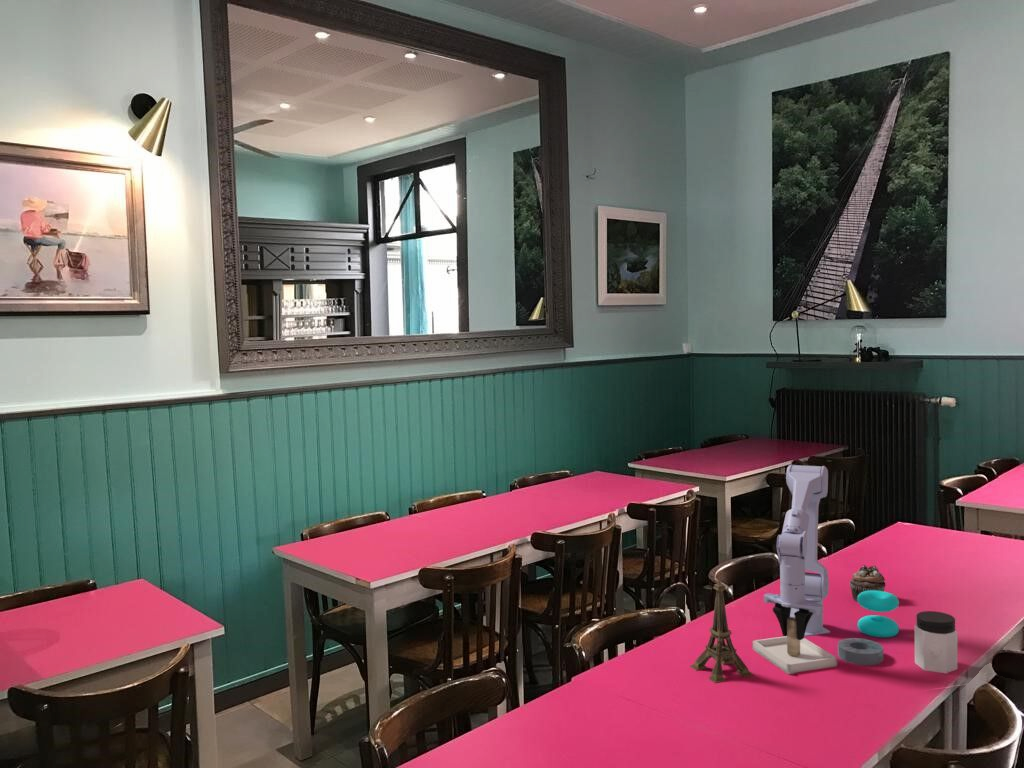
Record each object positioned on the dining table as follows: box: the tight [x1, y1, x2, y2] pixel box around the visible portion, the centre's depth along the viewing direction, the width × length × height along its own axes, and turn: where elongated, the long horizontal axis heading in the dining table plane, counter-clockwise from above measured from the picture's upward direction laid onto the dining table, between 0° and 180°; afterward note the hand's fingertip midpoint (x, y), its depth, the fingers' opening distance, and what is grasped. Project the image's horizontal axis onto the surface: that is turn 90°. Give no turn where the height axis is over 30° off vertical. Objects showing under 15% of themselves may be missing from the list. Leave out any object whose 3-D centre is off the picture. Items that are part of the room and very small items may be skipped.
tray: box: [752, 635, 838, 675], centre depth 203 cm, size 16×13×2 cm
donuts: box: [856, 590, 900, 638], centre depth 218 cm, size 10×10×10 cm
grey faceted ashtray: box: [837, 637, 884, 666], centre depth 202 cm, size 10×10×3 cm
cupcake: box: [848, 565, 887, 603], centre depth 244 cm, size 10×10×10 cm
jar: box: [914, 610, 958, 674], centre depth 195 cm, size 9×8×12 cm
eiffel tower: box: [689, 573, 754, 684], centre depth 197 cm, size 11×11×25 cm
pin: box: [787, 617, 800, 656], centre depth 203 cm, size 3×3×8 cm
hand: (793, 636), depth 203 cm, fingers open, 3 cm apart
